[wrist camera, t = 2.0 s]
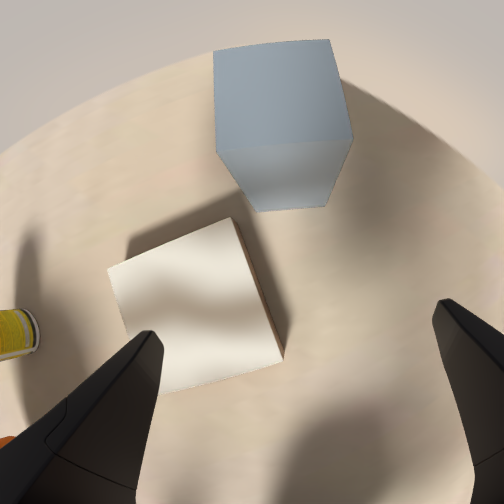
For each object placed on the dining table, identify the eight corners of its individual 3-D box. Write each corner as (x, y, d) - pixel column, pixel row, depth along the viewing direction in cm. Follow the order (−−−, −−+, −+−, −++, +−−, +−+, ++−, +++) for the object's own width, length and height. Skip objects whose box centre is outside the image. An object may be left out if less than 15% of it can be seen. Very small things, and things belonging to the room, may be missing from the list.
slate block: (324, 206, 22) (353, 139, 10) (256, 212, 23) (216, 151, 11) (316, 143, 23) (329, 39, 11) (251, 149, 23) (213, 51, 11)
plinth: (284, 352, 22) (283, 361, 19) (165, 386, 23) (152, 396, 21) (237, 222, 23) (230, 216, 21) (123, 269, 24) (106, 268, 22)
